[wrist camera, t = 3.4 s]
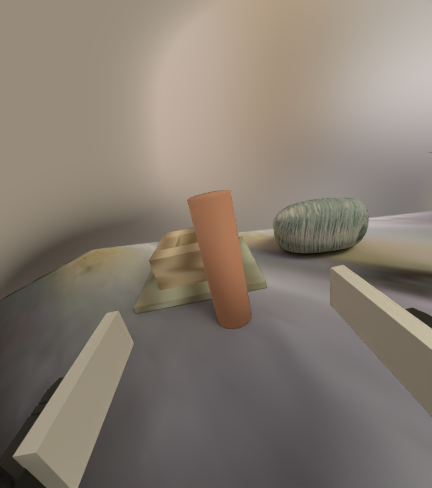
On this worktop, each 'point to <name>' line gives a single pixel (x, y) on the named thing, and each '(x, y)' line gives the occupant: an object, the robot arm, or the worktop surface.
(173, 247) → the socket
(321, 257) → the worktop surface
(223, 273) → the peg
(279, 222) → the green striped ellipsoid
